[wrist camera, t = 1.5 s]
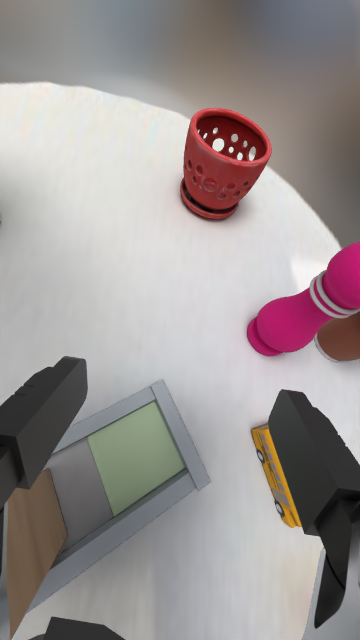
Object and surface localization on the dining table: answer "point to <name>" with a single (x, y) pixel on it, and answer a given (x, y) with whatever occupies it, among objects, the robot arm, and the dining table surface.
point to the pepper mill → (309, 307)
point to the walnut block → (31, 543)
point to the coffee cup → (340, 338)
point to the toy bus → (275, 476)
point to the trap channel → (130, 475)
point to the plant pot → (221, 162)
